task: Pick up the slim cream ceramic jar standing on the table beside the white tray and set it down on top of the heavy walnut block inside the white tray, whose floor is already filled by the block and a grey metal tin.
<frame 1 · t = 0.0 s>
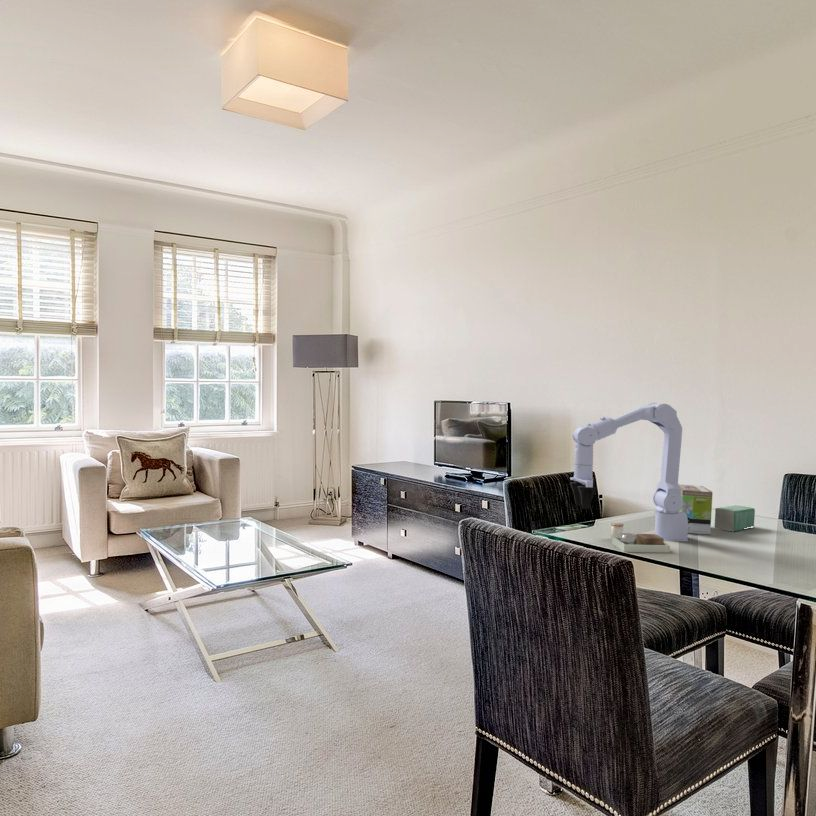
hand: (582, 506, 218), 10 cm above the table, fingers open, 7 cm apart
block: (649, 547, 205), resting on white tray
white tray: (640, 548, 205), on the table
tea box: (690, 530, 235), on the table
tin: (628, 547, 205), resting on white tray
box: (734, 529, 239), on the table
jar: (616, 539, 217), on the table
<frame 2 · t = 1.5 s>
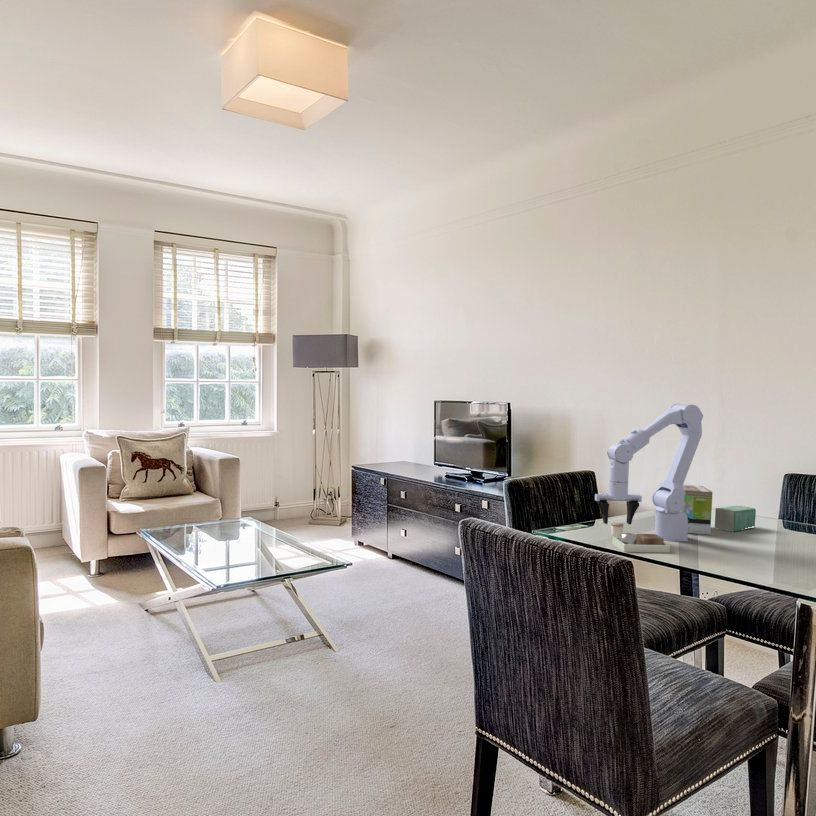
hand: (617, 523, 217), 5 cm above the table, fingers open, 7 cm apart
nothing on the table moved.
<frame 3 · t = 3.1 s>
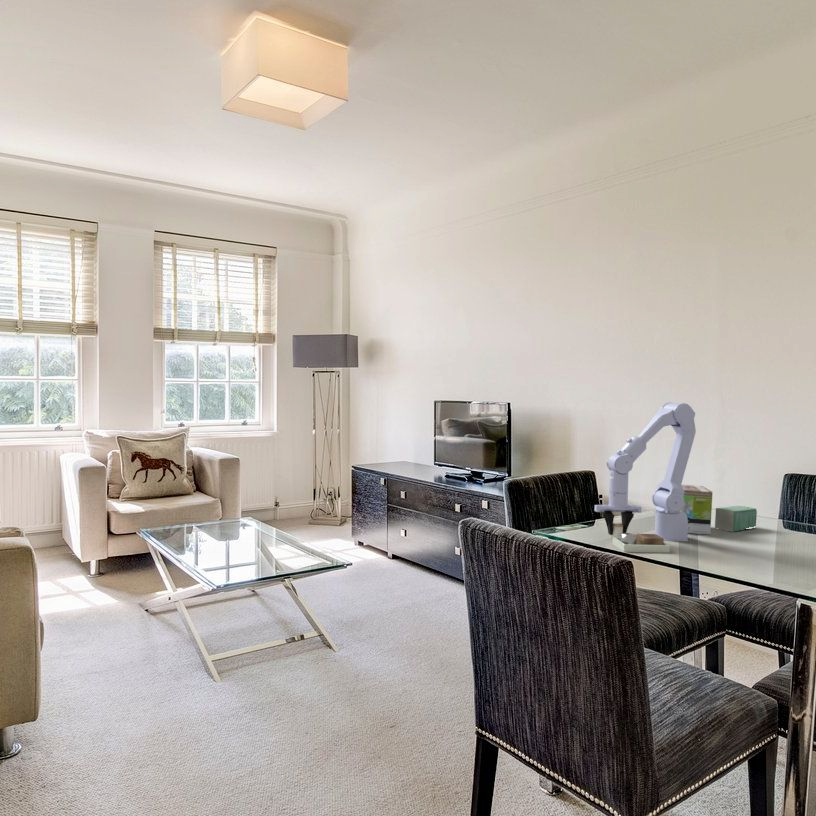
hand: (616, 534, 217), 2 cm above the table, fingers closed on jar, 4 cm apart
jar: (616, 539, 217), on the table, touching gripper
everything else where it was.
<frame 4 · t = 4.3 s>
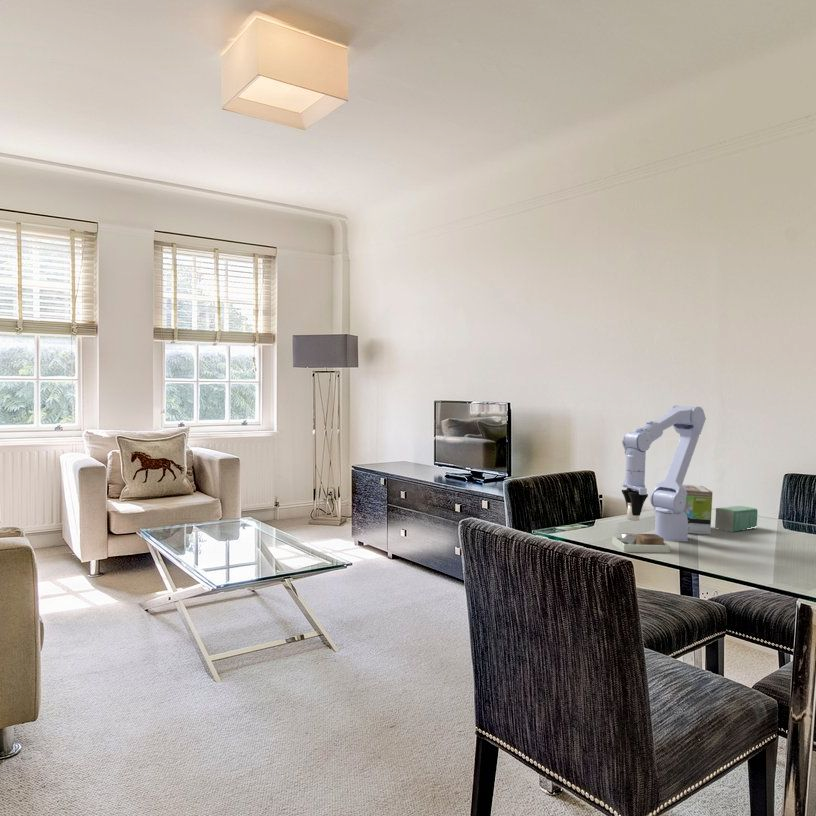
hand: (633, 514, 211), 9 cm above the table, fingers closed on jar, 4 cm apart
jar: (633, 519, 211), point 8 cm above the table, touching gripper
everything else where it was.
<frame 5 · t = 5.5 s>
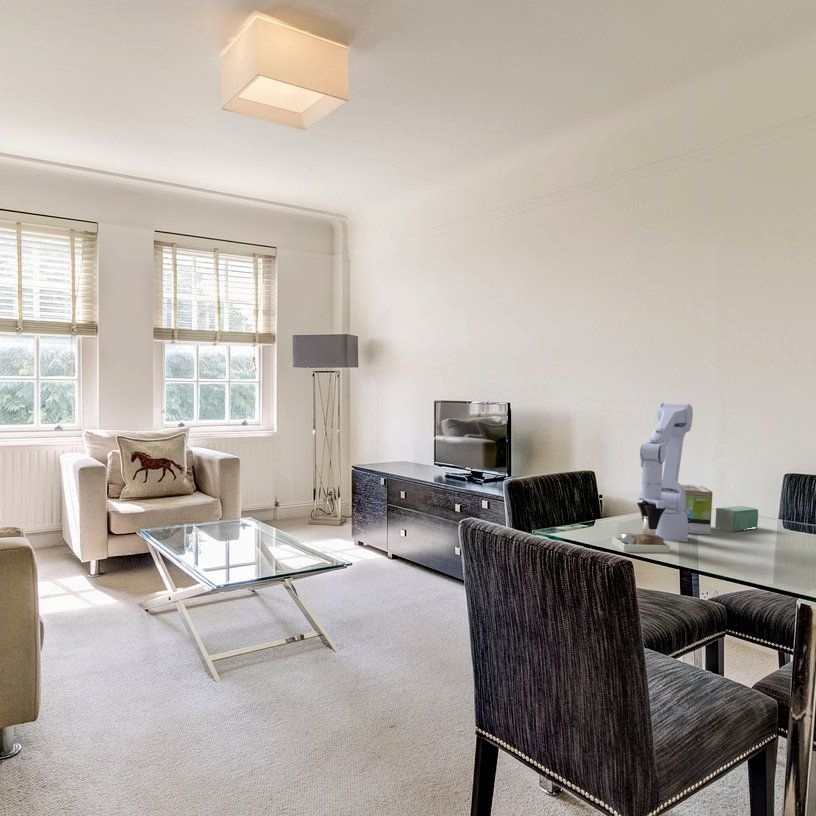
hand: (650, 527, 205), 6 cm above the table, fingers closed on jar, 4 cm apart
jar: (649, 533, 205), point 5 cm above the table, touching gripper
everything else where it was.
when the fingers open (6 cm above the table, at t = 6.0 s): jar stays where it is, resting on block.
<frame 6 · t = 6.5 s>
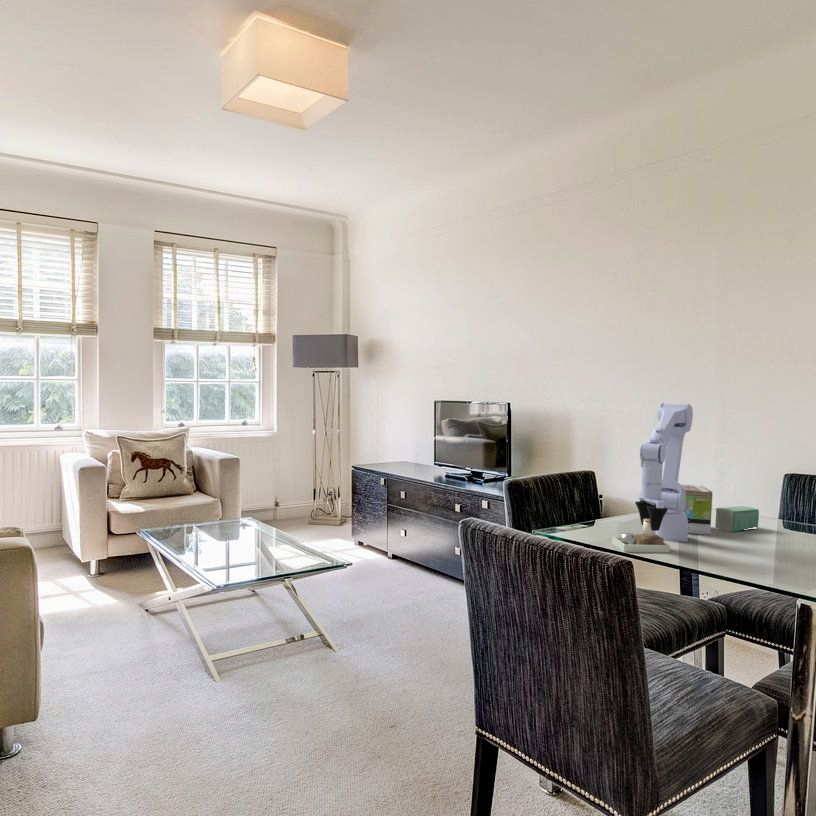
hand: (650, 527, 205), 7 cm above the table, fingers open, 7 cm apart
block: (649, 547, 205), resting on white tray, touching jar
jar: (649, 536, 205), point 4 cm above the table, touching block
everything else where it was.
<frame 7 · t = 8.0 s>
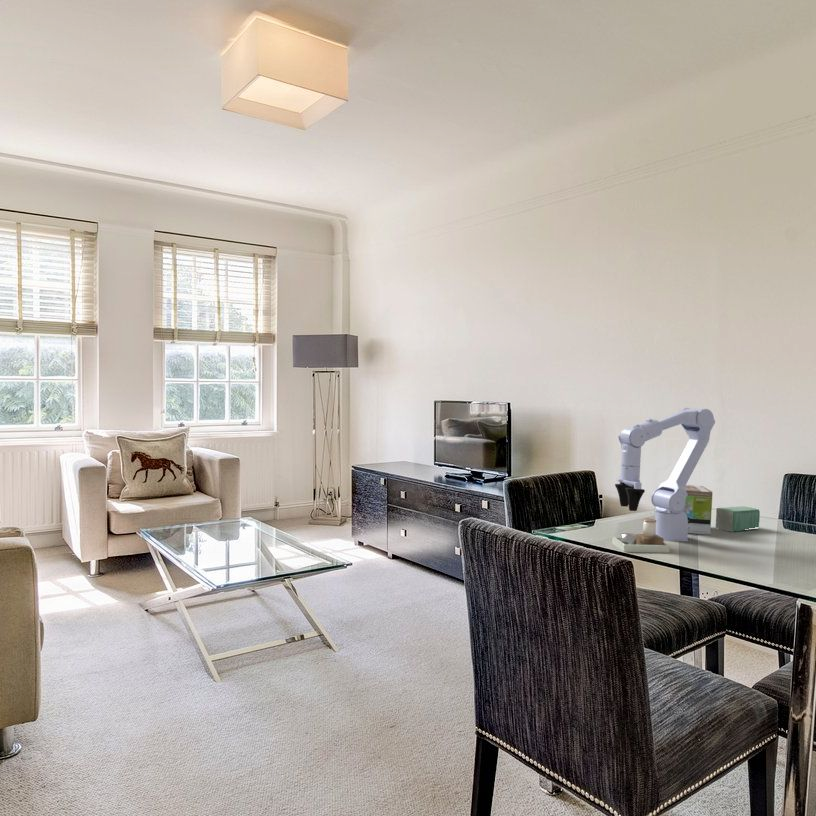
hand: (628, 508, 215), 10 cm above the table, fingers open, 7 cm apart
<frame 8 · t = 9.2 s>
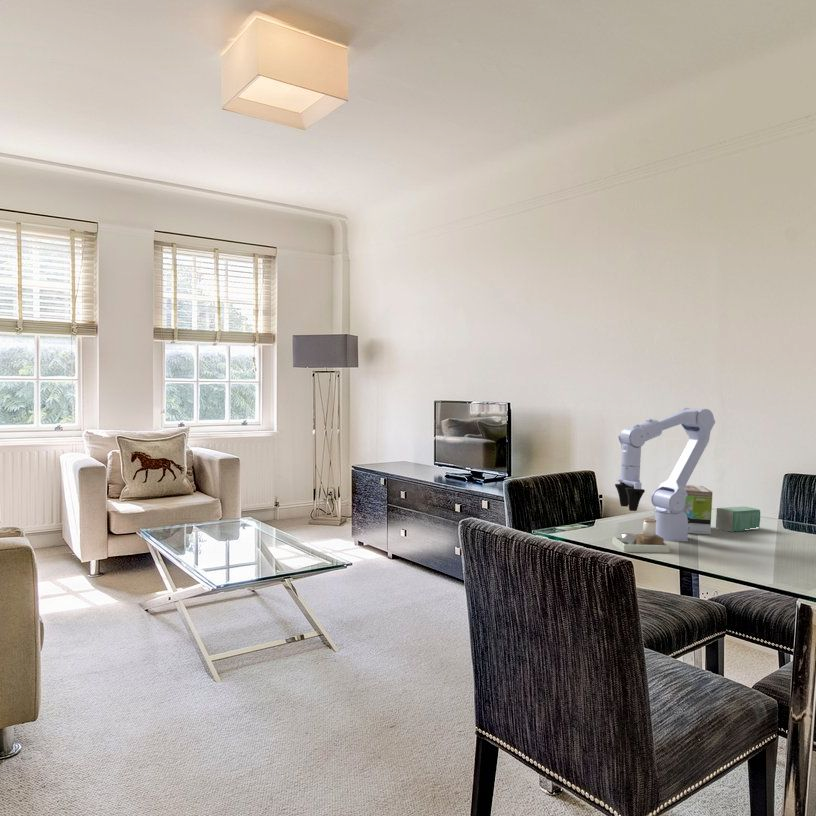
hand: (628, 508, 215), 10 cm above the table, fingers open, 7 cm apart
at the end: jar 0.2 cm off-centre on the block, point 3.6 cm above the block's base; jar tilted 0°; the gripper is holding nothing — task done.
